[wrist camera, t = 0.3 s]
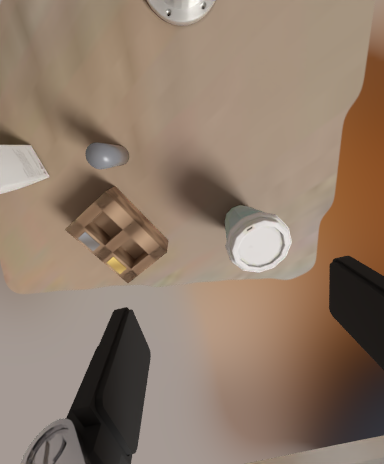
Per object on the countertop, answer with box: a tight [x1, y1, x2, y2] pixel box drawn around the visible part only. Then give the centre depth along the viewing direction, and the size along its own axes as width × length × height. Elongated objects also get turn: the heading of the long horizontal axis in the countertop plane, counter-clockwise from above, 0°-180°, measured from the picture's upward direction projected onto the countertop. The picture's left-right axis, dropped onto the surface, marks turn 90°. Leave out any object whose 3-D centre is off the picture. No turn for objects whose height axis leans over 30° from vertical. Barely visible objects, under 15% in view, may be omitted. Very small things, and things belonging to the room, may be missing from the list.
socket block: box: [65, 186, 168, 283], centre depth 42 cm, size 16×11×6 cm
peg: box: [86, 143, 129, 169], centre depth 34 cm, size 4×4×11 cm
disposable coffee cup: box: [225, 205, 291, 273], centre depth 39 cm, size 11×11×15 cm
